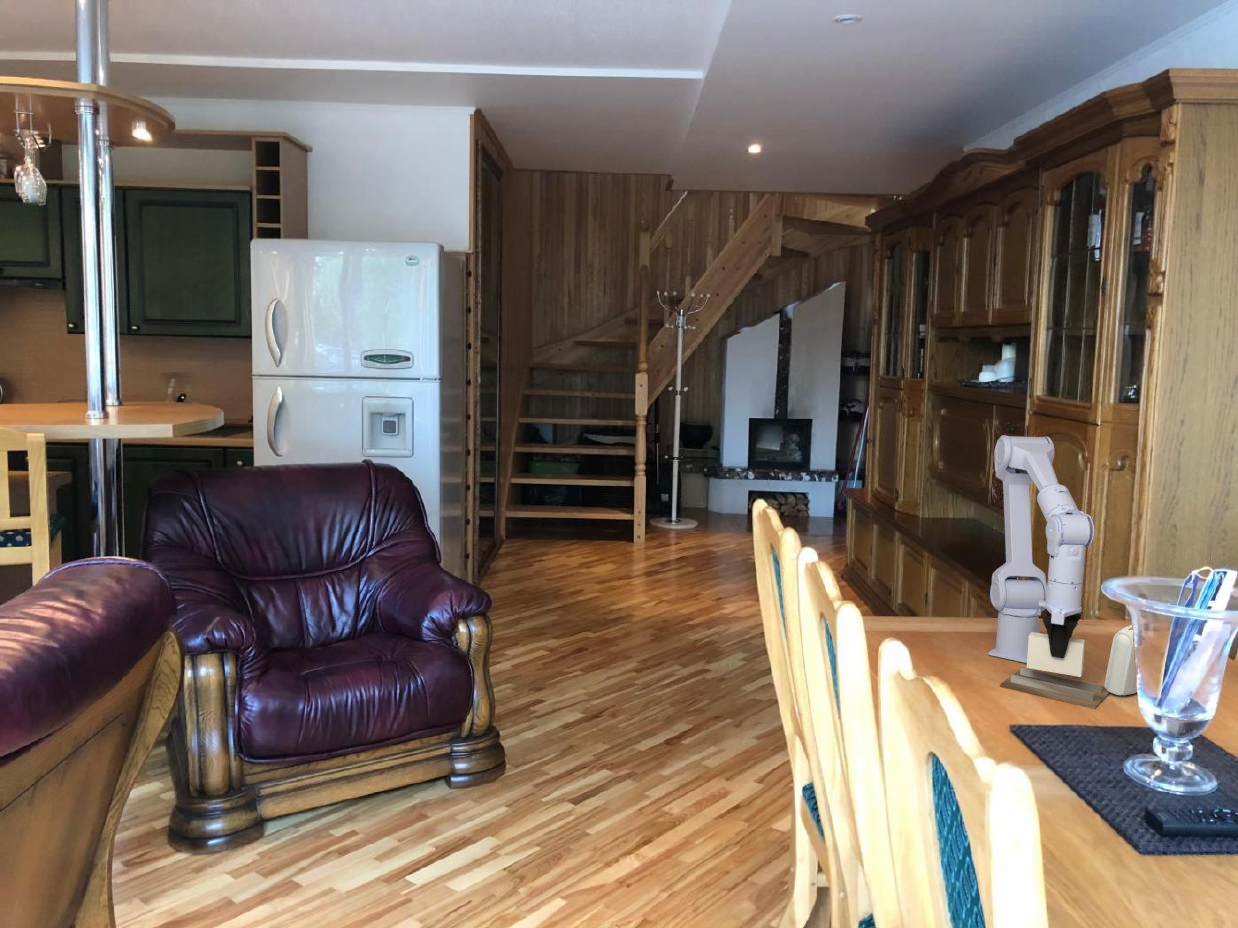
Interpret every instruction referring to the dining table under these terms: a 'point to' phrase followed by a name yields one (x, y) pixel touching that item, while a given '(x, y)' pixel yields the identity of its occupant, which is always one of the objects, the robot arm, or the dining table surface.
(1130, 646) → the cream rounded upright block
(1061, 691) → the track board
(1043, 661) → the cream rectangular block
